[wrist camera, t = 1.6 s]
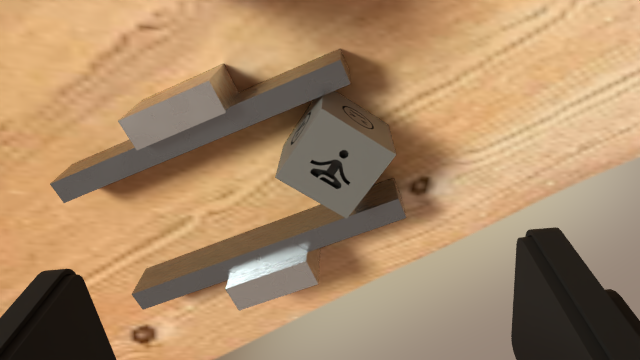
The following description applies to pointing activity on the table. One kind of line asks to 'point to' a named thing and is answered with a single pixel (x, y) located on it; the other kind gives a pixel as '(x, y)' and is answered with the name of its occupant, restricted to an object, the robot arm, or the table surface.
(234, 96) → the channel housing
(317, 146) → the dice cube
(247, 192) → the table surface
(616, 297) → the robot arm
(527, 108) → the table surface
